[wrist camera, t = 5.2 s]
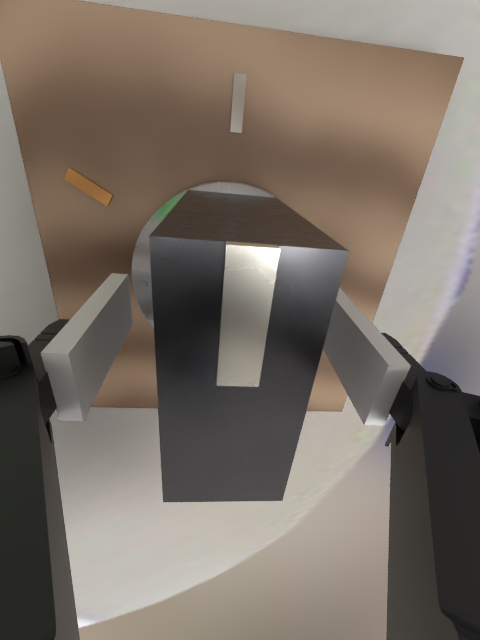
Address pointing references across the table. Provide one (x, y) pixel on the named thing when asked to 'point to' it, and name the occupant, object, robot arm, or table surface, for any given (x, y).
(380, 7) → the table surface
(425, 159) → the dial panel
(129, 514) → the table surface
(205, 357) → the dial
